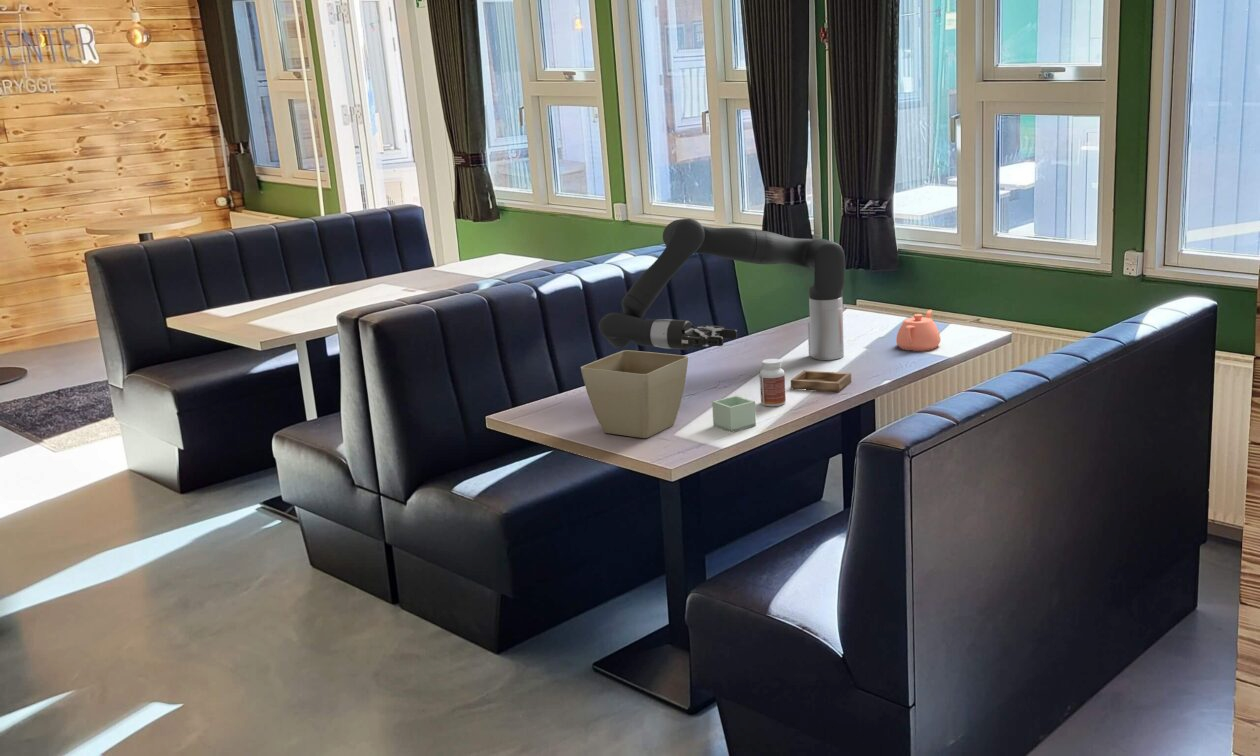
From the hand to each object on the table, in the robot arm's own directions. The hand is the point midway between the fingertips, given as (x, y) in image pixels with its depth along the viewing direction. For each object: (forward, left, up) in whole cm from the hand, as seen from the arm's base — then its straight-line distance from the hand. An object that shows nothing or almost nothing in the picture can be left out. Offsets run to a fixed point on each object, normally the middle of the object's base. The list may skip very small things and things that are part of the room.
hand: (729, 337), depth 308 cm
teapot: (-6, +71, -17) cm, 74 cm away
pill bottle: (+10, +5, -17) cm, 20 cm away
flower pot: (+4, -31, -17) cm, 35 cm away
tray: (+6, +24, -16) cm, 30 cm away
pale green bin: (+18, -13, -16) cm, 27 cm away
